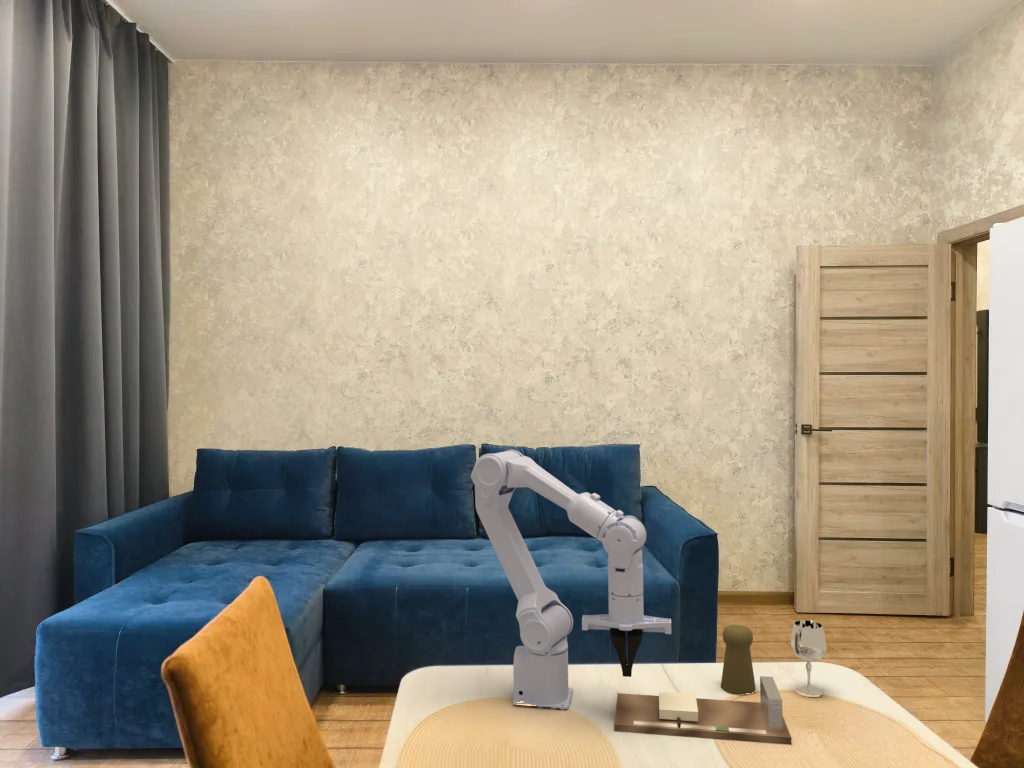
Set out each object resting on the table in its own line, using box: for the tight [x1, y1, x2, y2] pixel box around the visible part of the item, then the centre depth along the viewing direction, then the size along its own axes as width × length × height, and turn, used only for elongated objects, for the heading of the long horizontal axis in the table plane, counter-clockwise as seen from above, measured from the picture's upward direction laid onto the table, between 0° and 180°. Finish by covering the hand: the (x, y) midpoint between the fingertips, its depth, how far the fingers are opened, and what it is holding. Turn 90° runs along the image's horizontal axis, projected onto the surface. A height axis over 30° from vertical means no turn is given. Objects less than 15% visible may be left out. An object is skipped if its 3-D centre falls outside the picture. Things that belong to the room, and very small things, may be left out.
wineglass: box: [790, 619, 827, 696], centre depth 129 cm, size 6×6×12 cm
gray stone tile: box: [759, 675, 783, 732], centre depth 117 cm, size 2×9×5 cm, turn 169°
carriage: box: [658, 690, 698, 725], centre depth 119 cm, size 6×9×2 cm, turn 169°
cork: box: [720, 624, 757, 695], centre depth 132 cm, size 6×6×11 cm
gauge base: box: [613, 692, 792, 745], centre depth 119 cm, size 26×12×1 cm, turn 79°
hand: (627, 674), depth 121 cm, fingers closed
